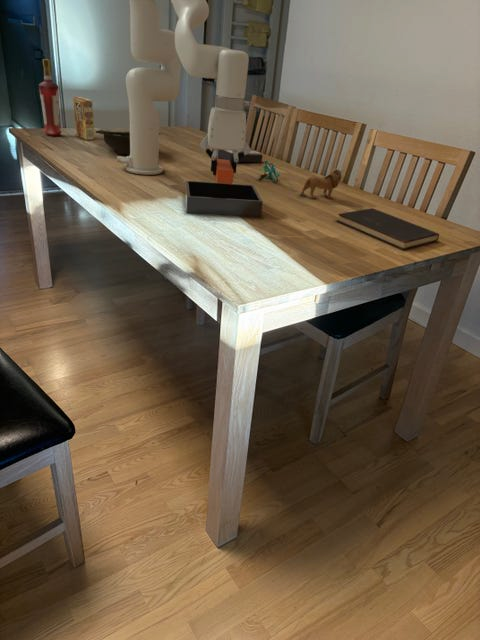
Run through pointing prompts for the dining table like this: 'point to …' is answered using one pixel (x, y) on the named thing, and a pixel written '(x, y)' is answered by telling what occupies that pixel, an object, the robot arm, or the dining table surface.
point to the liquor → (50, 102)
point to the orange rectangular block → (224, 172)
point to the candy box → (84, 118)
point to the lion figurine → (323, 183)
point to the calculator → (249, 157)
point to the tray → (222, 199)
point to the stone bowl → (117, 140)
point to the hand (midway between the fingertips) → (222, 174)
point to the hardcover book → (388, 228)
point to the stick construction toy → (269, 172)
